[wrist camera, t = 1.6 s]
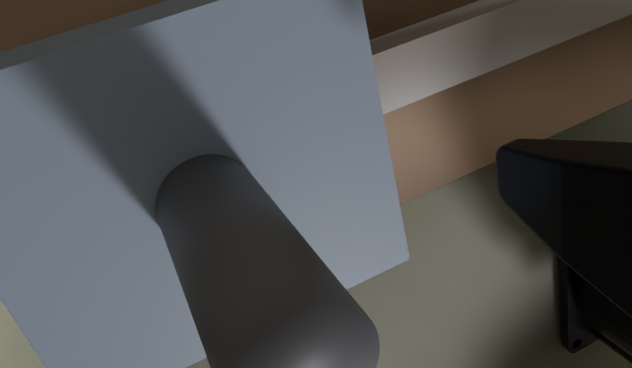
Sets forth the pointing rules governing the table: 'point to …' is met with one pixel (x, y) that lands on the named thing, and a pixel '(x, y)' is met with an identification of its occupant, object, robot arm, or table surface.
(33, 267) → the grey peg on base
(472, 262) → the table surface
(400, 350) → the table surface
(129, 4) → the rail track
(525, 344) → the table surface
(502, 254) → the table surface
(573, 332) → the robot arm
